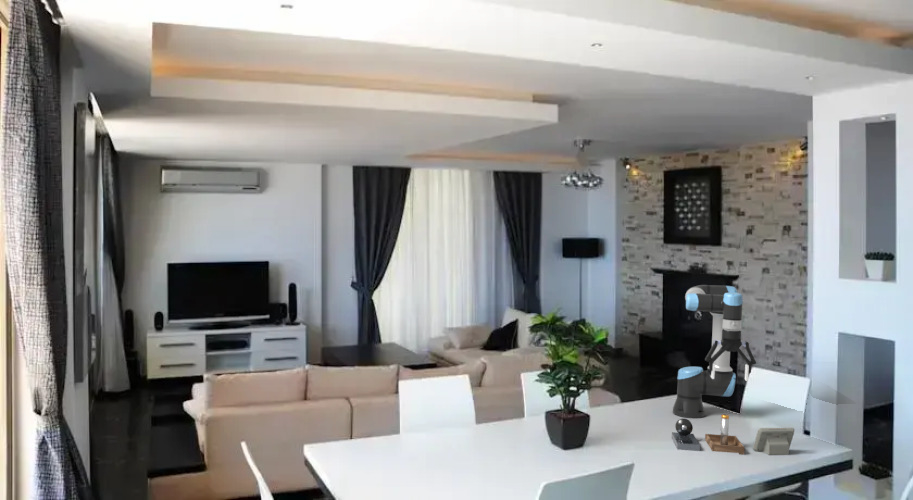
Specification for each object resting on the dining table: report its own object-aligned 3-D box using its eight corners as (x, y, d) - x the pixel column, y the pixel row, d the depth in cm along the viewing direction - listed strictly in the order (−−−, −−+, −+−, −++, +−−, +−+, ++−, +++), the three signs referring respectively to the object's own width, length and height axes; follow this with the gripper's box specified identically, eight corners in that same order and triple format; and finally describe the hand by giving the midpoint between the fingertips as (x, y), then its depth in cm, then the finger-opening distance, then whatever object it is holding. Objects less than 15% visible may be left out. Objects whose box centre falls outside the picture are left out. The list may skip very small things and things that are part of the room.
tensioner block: (671, 439, 312) (672, 416, 311) (692, 440, 310) (693, 417, 310) (677, 450, 296) (678, 426, 296) (699, 452, 295) (700, 428, 294)
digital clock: (789, 449, 302) (790, 424, 301) (797, 456, 293) (799, 431, 292) (749, 447, 303) (751, 423, 302) (757, 454, 294) (758, 429, 293)
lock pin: (719, 444, 303) (720, 414, 303) (726, 445, 303) (728, 414, 303) (721, 446, 300) (722, 415, 300) (728, 447, 300) (729, 416, 300)
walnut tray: (704, 440, 310) (705, 433, 310) (735, 443, 309) (735, 435, 308) (712, 452, 295) (712, 444, 295) (744, 454, 293) (744, 447, 293)
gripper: (702, 329, 299) (700, 379, 300) (765, 332, 295) (762, 383, 296) (699, 326, 306) (697, 375, 308) (760, 329, 302) (758, 379, 303)
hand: (729, 379), depth 302 cm, fingers open, 13 cm apart
